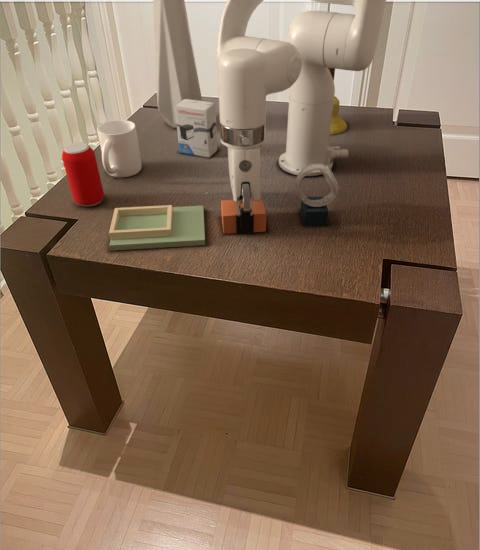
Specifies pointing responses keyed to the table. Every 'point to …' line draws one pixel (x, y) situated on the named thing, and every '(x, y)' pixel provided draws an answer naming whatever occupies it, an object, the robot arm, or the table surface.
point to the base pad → (157, 227)
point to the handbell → (336, 114)
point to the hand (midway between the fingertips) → (243, 222)
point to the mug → (119, 148)
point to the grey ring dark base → (316, 207)
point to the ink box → (196, 127)
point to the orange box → (231, 210)
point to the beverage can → (83, 174)
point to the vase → (174, 58)
